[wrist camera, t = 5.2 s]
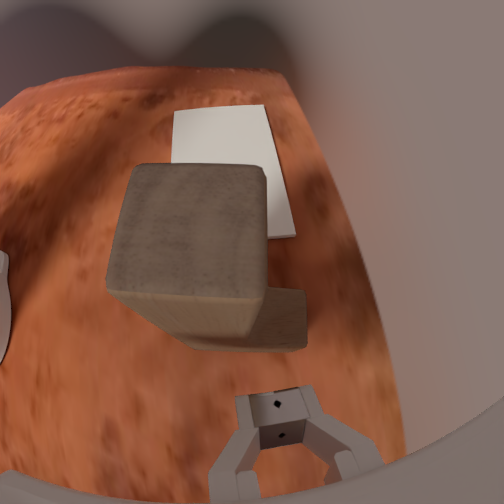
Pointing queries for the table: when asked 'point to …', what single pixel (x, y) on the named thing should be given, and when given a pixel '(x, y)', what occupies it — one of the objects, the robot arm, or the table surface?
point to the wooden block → (203, 259)
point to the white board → (235, 151)
